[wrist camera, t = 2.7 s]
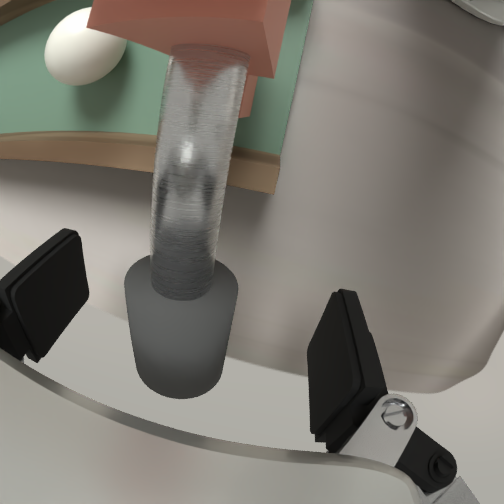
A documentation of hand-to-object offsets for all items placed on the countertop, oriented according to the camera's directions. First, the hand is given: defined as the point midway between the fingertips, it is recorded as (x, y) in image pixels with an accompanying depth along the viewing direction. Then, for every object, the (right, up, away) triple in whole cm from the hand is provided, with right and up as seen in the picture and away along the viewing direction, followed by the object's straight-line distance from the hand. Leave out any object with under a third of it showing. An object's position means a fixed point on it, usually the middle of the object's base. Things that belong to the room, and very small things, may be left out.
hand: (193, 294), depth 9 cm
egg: (-5, +11, -1) cm, 12 cm away
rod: (+1, +7, +2) cm, 7 cm away
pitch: (-13, +14, +1) cm, 19 cm away
